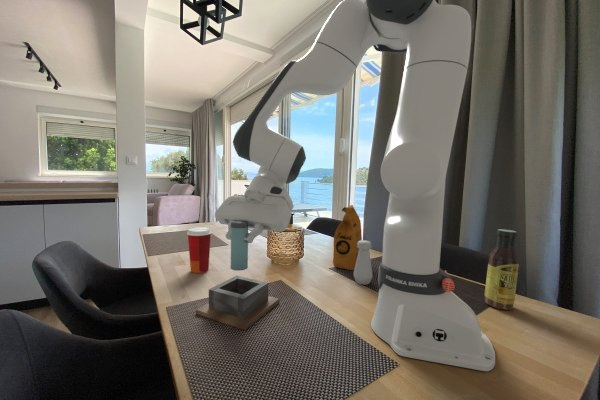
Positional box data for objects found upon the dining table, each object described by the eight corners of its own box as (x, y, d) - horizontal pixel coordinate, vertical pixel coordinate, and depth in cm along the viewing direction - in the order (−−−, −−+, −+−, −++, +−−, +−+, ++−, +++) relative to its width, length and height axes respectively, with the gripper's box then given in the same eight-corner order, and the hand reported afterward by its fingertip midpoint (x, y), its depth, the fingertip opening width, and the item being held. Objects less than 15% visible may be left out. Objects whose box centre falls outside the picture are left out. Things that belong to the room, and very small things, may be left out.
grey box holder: (279, 302, 68) (279, 281, 67) (245, 330, 55) (245, 304, 54) (235, 291, 74) (235, 271, 73) (195, 313, 61) (195, 290, 61)
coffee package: (328, 267, 95) (330, 206, 94) (339, 258, 106) (341, 203, 105) (355, 272, 91) (357, 208, 89) (364, 262, 102) (366, 205, 100)
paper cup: (211, 265, 94) (211, 226, 93) (211, 273, 87) (211, 231, 85) (187, 267, 91) (187, 227, 90) (185, 275, 84) (185, 232, 83)
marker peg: (251, 266, 64) (251, 222, 63) (240, 271, 61) (241, 224, 60) (237, 263, 66) (238, 220, 65) (227, 268, 63) (227, 222, 62)
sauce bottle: (499, 312, 65) (506, 233, 64) (477, 300, 71) (484, 228, 70) (521, 310, 66) (529, 232, 65) (498, 299, 73) (504, 227, 71)
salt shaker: (372, 286, 79) (374, 244, 78) (353, 284, 80) (354, 242, 79) (371, 279, 84) (373, 239, 83) (353, 277, 86) (354, 238, 84)
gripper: (225, 186, 73) (198, 227, 65) (292, 190, 64) (269, 238, 56) (236, 201, 77) (211, 241, 69) (299, 207, 68) (279, 253, 60)
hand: (237, 240), depth 62 cm, fingers closed on marker peg, 4 cm apart
